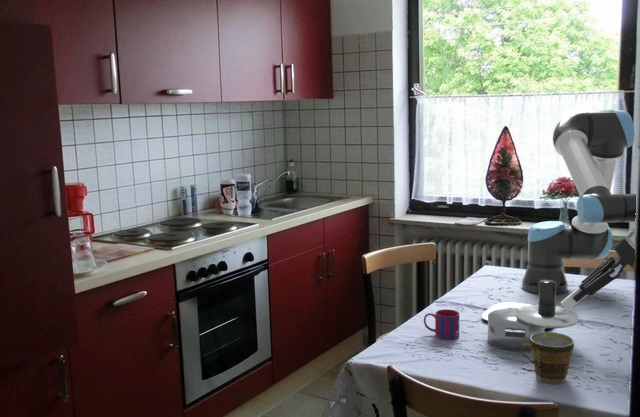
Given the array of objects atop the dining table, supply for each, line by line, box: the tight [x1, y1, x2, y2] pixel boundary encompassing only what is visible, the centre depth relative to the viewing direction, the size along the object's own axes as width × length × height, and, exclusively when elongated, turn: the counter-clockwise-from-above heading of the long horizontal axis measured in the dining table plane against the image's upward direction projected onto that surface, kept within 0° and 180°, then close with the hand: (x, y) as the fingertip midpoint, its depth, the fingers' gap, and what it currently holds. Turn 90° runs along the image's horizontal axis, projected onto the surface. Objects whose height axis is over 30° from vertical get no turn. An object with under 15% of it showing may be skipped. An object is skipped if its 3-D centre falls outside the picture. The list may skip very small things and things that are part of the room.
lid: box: [516, 280, 579, 329], centre depth 181 cm, size 16×16×10 cm
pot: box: [487, 308, 545, 353], centre depth 185 cm, size 20×15×7 cm
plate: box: [481, 301, 548, 330], centre depth 204 cm, size 22×22×2 cm
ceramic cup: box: [519, 331, 575, 385], centre depth 159 cm, size 13×10×10 cm
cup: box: [423, 309, 460, 341], centre depth 191 cm, size 7×10×7 cm
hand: (564, 306), depth 179 cm, fingers closed
